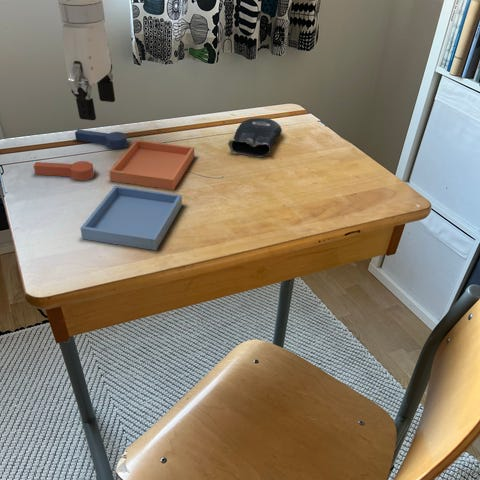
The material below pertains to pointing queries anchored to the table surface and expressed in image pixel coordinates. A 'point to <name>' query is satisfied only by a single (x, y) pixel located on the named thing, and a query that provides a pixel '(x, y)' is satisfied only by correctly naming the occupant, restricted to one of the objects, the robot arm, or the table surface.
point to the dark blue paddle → (103, 138)
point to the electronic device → (255, 137)
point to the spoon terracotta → (66, 169)
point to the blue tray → (132, 217)
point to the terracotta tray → (152, 164)
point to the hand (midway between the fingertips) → (98, 109)
